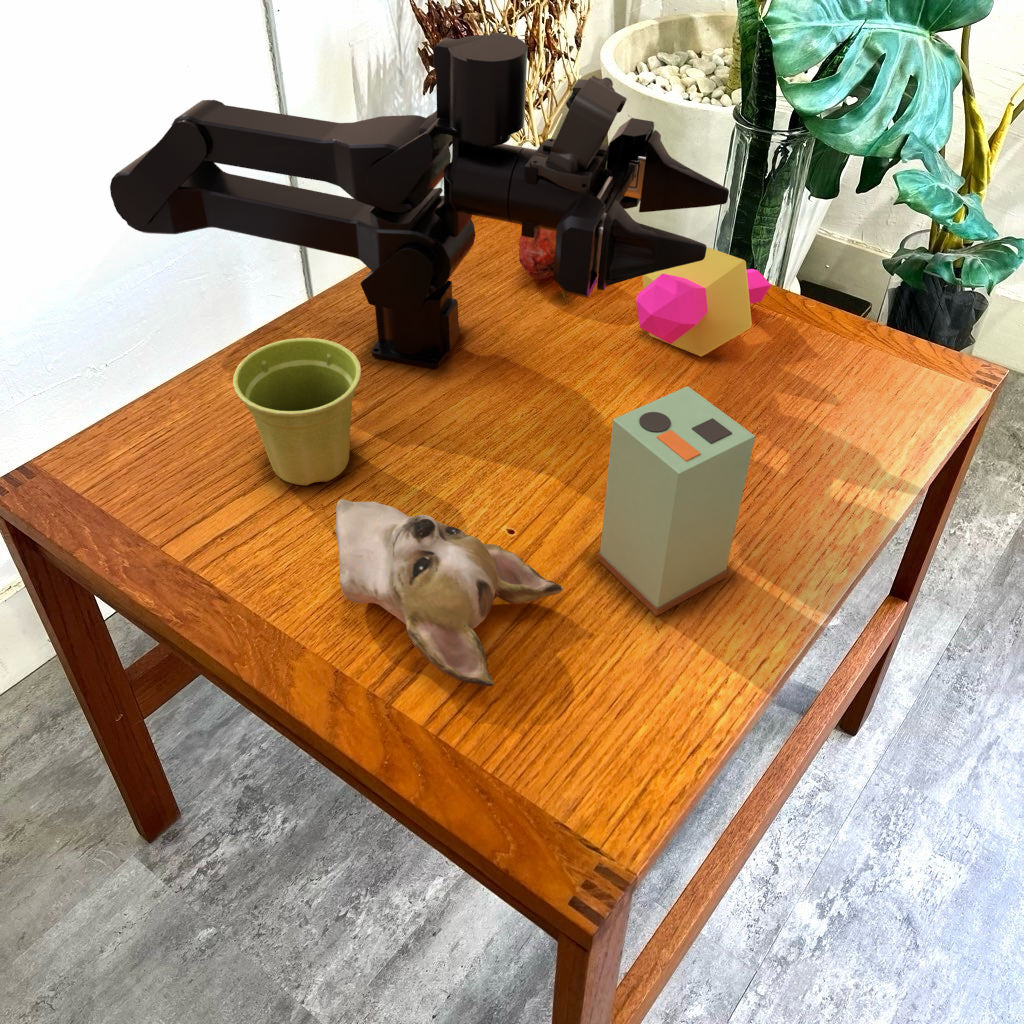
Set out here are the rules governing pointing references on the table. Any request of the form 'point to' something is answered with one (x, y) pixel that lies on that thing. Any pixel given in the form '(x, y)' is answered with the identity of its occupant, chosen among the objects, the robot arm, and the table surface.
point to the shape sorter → (673, 497)
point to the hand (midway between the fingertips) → (717, 223)
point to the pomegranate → (538, 254)
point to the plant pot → (301, 405)
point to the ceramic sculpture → (431, 581)
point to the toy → (700, 302)
